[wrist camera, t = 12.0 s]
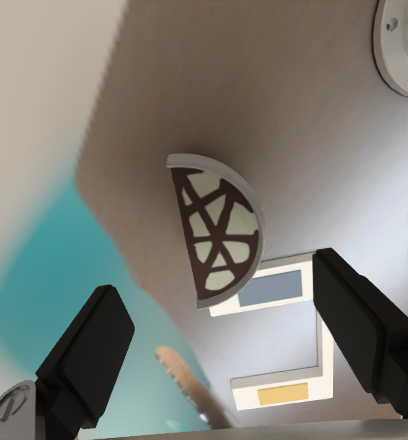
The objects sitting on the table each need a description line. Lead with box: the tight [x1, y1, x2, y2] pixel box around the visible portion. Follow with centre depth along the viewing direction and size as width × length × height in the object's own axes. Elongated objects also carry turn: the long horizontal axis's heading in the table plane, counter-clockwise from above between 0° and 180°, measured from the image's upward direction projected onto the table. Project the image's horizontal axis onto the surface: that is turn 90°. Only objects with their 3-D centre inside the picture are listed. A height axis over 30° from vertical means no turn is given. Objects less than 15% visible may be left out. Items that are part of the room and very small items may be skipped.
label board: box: [209, 252, 333, 410], centre depth 31 cm, size 16×28×2 cm, turn 12°
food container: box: [166, 153, 266, 310], centre depth 19 cm, size 12×6×10 cm, turn 9°
